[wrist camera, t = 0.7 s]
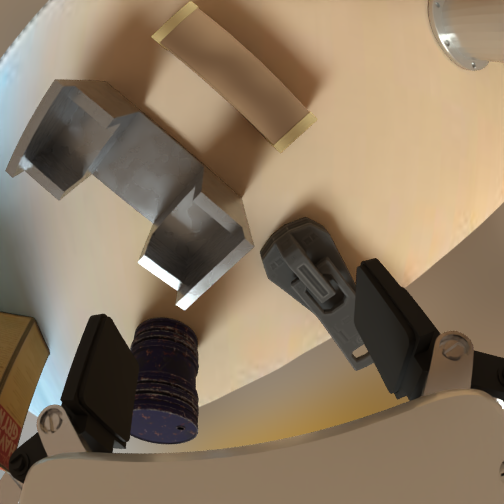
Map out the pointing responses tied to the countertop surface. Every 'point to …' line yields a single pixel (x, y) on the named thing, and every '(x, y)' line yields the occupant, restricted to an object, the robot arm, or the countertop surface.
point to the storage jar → (165, 382)
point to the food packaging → (17, 377)
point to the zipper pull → (316, 280)
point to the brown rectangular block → (235, 75)
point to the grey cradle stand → (137, 181)
